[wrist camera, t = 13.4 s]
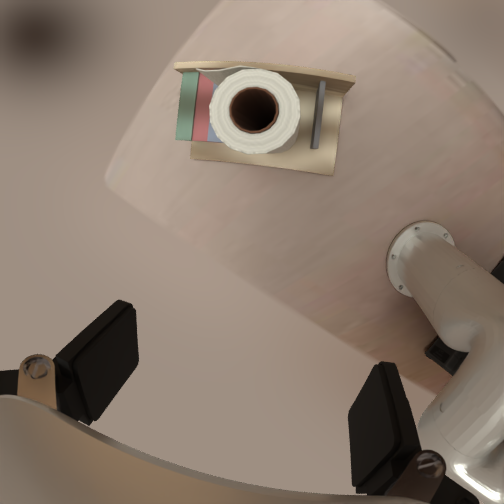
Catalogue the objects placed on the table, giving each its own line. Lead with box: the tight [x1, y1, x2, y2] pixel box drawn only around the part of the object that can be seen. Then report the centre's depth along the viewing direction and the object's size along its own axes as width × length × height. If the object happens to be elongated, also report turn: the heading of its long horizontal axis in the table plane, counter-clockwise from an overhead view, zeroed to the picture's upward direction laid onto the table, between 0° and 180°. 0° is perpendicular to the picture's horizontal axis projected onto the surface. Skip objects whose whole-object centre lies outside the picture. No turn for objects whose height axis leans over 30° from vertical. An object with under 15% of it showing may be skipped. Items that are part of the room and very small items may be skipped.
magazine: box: [424, 259, 504, 376], centre depth 37 cm, size 17×3×30 cm
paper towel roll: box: [196, 66, 301, 154], centre depth 27 cm, size 7×6×21 cm
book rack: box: [174, 61, 356, 176], centre depth 33 cm, size 12×20×10 cm, turn 84°
